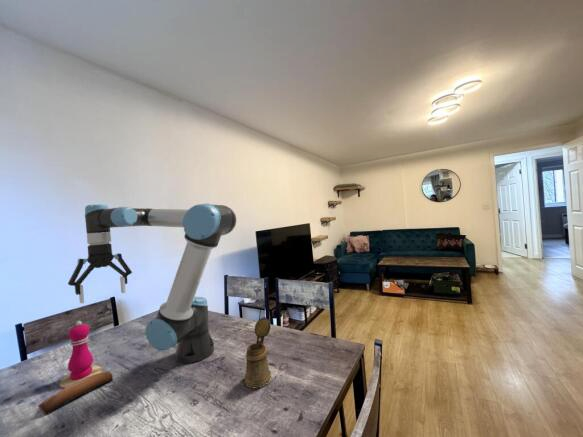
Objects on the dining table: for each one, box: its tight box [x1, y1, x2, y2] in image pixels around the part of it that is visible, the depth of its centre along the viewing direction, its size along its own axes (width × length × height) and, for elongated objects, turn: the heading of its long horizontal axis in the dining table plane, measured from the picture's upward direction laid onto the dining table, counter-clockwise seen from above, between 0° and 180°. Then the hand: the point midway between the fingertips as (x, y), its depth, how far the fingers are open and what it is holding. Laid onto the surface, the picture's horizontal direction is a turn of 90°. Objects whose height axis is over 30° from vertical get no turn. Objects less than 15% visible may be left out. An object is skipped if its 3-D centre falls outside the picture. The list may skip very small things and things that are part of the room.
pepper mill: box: [67, 320, 94, 380], centre depth 93 cm, size 7×7×20 cm
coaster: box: [59, 365, 103, 389], centre depth 93 cm, size 12×12×1 cm
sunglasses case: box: [37, 371, 114, 416], centre depth 84 cm, size 18×7×7 cm
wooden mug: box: [244, 316, 272, 388], centre depth 88 cm, size 9×14×18 cm, turn 164°
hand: (103, 297), depth 100 cm, fingers open, 13 cm apart
